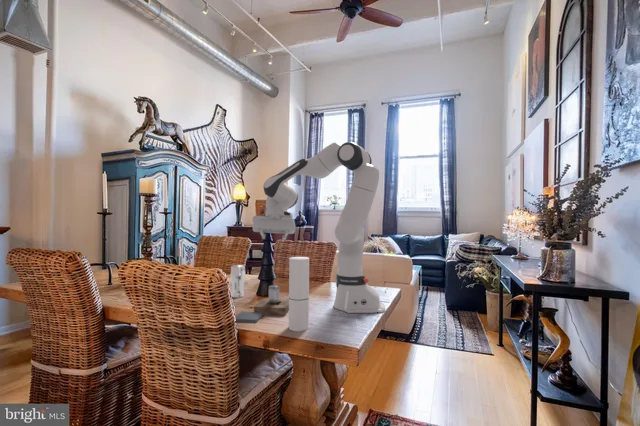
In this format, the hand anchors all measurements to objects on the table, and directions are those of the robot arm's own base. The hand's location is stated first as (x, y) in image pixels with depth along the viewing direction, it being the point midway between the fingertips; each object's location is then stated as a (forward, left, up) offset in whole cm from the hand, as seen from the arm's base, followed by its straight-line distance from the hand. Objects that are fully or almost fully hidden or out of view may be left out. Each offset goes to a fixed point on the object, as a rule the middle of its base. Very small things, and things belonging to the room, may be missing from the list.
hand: (274, 238), depth 144 cm
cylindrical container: (-17, +30, -30) cm, 46 cm away
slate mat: (+4, +23, -29) cm, 37 cm away
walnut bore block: (-3, +11, -29) cm, 32 cm away
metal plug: (-3, +11, -29) cm, 32 cm away
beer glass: (+20, -8, -30) cm, 36 cm away
